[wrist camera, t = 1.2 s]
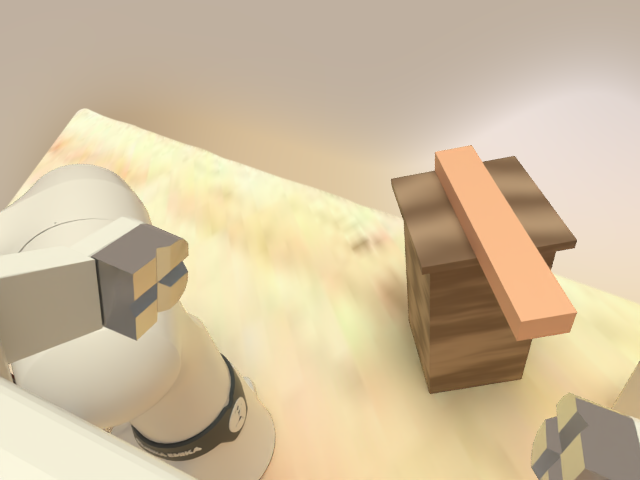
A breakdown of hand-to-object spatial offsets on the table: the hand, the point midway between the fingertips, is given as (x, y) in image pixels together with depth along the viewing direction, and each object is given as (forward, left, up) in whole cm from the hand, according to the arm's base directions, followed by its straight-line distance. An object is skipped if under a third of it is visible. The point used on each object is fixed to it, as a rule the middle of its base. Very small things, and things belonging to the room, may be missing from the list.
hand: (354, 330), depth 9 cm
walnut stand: (+3, +32, -50) cm, 59 cm away
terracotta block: (+4, +28, -24) cm, 37 cm away
